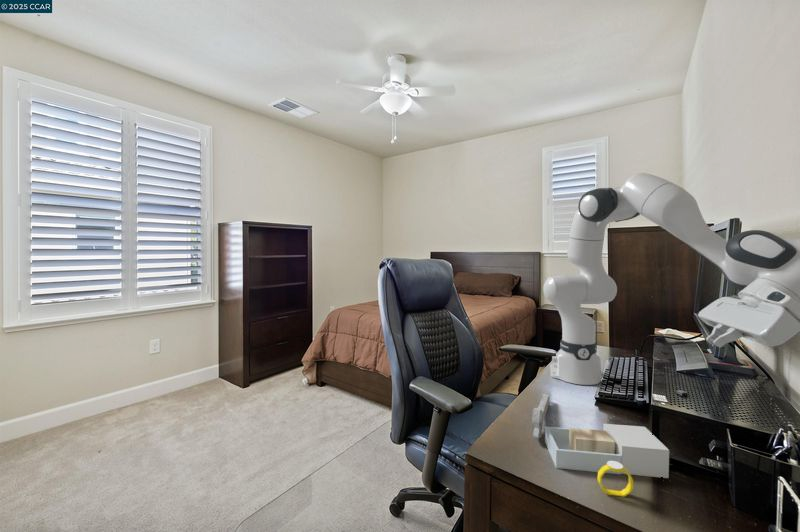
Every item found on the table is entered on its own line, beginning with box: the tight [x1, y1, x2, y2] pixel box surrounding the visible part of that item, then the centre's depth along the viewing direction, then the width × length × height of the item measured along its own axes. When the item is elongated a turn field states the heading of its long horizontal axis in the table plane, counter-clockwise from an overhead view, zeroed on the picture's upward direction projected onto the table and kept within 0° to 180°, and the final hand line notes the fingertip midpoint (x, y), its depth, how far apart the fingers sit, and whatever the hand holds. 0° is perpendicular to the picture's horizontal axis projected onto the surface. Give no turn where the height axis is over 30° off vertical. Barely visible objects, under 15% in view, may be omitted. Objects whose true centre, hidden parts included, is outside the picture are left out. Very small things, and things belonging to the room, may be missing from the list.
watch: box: [596, 461, 635, 498], centre depth 69 cm, size 6×3×6 cm, turn 78°
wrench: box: [531, 393, 551, 439], centre depth 98 cm, size 8×2×30 cm
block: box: [568, 427, 615, 454], centre depth 81 cm, size 5×5×8 cm
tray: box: [544, 426, 622, 475], centre depth 81 cm, size 11×13×4 cm
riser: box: [602, 423, 670, 479], centre depth 79 cm, size 10×9×6 cm
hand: (712, 343), depth 79 cm, fingers closed
